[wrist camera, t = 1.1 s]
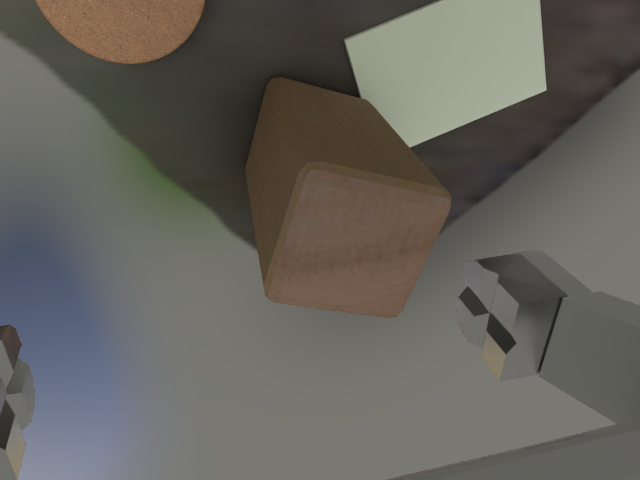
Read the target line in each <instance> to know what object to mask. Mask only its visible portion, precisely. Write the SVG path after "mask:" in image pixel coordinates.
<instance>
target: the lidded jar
mask: <svg viewBox="0 0 640 480" xmlns="http://www.w3.org/2000/svg"><path fill="white" fill-rule="evenodd" d="M35 1H36V3H37V5H38V7H39V8H40V10H41V11H42V13H43V15H44V16H45V18H46V19H47V20H48V21H49V23H50V24H51V25H52V26H53V27H54V29H55V30H56V31H58V32H59V33H60V34H61V35H62V36H63V37H64V38H65V39H66V40H67V41H69V42H70V43H72V44H73V45H74V46H76V47H77V48H79V49H80V50H82V51H84V52H86V53H88V54H90V55H92V56H95V57H97V58H100V59H102V60H106V61H110V62H115V63H123V64H137V63H146V62H150V61H154V60H157V59H159V58H162V57H164V56H166V55H168V54H170V53H171V52H173V51H174V50H176V49H177V48H178V47H180V46H181V45H182V44H183V43H184V42H185V41H186V40H187V39H188V37H189V36H190V35H191V34H192V32H193V31H194V29H195V28H196V26H197V24H198V22H199V20H200V18H201V15H202V12H203V9H204V5H205V0H35Z"/></svg>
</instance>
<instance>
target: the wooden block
mask: <svg viewBox="0 0 640 480" xmlns="http://www.w3.org/2000/svg"><path fill="white" fill-rule="evenodd" d="M245 175H246V181H247V188H248V194H249V200H250V206H251V212H252V218H253V224H254V231H255V237H256V243H257V249H258V255H259V261H260V267H261V273H262V279H263V286H264V291H265V295H266V297H267V298H268V299H269V300H272V301H274V302H276V303H280V304H288V305H295V306H303V307H310V308H318V309H326V310H333V311H342V312H348V313H356V314H364V315H371V316H379V317H387V318H391V317H396V316H398V315H399V314H400V313H401V312H402V311H403V308H404V306H405V304H406V302H407V300H408V298H409V296H410V294H411V292H412V289H413V287H414V285H415V283H416V281H417V279H418V277H419V274H420V273H421V270H422V268H423V266H424V264H425V262H426V260H427V258H428V255H429V253H430V251H431V249H432V247H433V245H434V243H435V241H436V239H437V237H438V234H439V232H440V230H441V228H442V226H443V224H444V222H445V220H446V217H447V215H448V213H449V211H450V206H451V196H450V194H449V192H448V191H447V190H446V189H445V188H444V187H443V186H442V184H441V183H440V182H439V181H438V180H437V179H436V177H435V176H434V175H433V174H432V173H431V172H430V171H429V169H428V168H427V167H426V166H425V165H424V164H423V162H422V161H421V160H420V159H419V158H418V157H417V156H416V154H415V153H414V152H413V151H412V150H411V149H410V147H409V146H408V145H407V144H406V143H405V142H404V141H403V139H402V138H401V137H400V136H399V135H398V134H397V132H396V131H395V130H394V129H393V128H392V127H391V126H390V124H389V123H388V122H387V121H386V120H385V119H384V117H383V116H382V115H381V114H380V113H379V112H378V111H377V109H376V108H375V107H374V106H373V105H372V104H371V103H370V102H369V101H367V100H365V99H361V98H358V97H354V96H350V95H346V94H343V93H339V92H335V91H331V90H328V89H324V88H320V87H317V86H313V85H309V84H305V83H302V82H298V81H294V80H290V79H287V78H283V77H277V78H272V79H271V80H270V81H269V83H268V84H267V85H266V89H265V93H264V97H263V101H262V105H261V108H260V112H259V116H258V120H257V124H256V128H255V132H254V136H253V139H252V143H251V147H250V151H249V155H248V159H247V163H246V167H245Z"/></svg>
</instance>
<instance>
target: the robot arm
mask: <svg viewBox="0 0 640 480" xmlns="http://www.w3.org/2000/svg"><path fill="white" fill-rule="evenodd" d="M462 280H463V281H464V283H465V284H466V286H467V287H466V288H465V290H464V291H463V292H462V293H461V294H460V296H459V297H458V303H457V309H456V312H457V317H458V324H459V326H460V329H461V331H462V333H463V334H464V336H465V337H466V339H467V340H468V341H469V342H470V343H472V344H474V345H476V346H478V347H480V348H482V352H481V358H482V360H483V361H484V362H485V363H486V365H487V366H488V367H489V369H490V370H491V371H492V373H493V374H494V375H495V376H496V378H497V379H498V380H499V381H503V380H509V379H515V378H521V377H526V376H532V375H538V374H539V377H541V378H542V379H544V380H546V381H547V382H549V383H550V384H552V385H554V386H556V387H557V388H559V389H560V390H562V391H564V392H565V393H567V394H569V395H570V396H572V397H574V398H575V399H577V400H579V401H580V402H582V403H583V404H585V405H587V406H588V407H590V408H592V409H593V410H595V411H597V412H598V413H600V414H602V415H603V416H605V417H607V418H608V419H610V420H612V421H613V422H615V423H616V425H612V426H608V427H604V428H599V429H595V430H591V431H587V432H583V433H579V434H575V435H570V436H566V437H562V438H558V439H554V440H549V441H545V442H541V443H537V444H533V445H529V446H524V447H520V448H516V449H512V450H508V451H504V452H499V453H495V454H491V455H487V456H483V457H479V458H474V459H471V460H466V461H462V462H458V463H454V464H449V465H445V466H441V467H437V468H433V469H428V470H425V471H420V472H416V473H412V474H408V475H403V476H400V477H395V478H391V479H387V480H640V305H637V304H634V303H632V302H629V301H626V300H623V299H620V298H617V297H614V296H611V295H608V294H606V293H603V292H594V293H593V292H592V291H591V290H590V289H588V288H587V287H586V286H585V285H583V284H582V283H581V282H580V281H578V280H577V279H576V278H575V277H574V276H572V275H571V274H570V273H568V272H567V271H566V270H565V269H564V268H563V267H561V266H560V265H559V264H558V263H557V262H555V261H554V260H553V259H552V258H550V257H549V256H548V255H547V254H545V253H544V252H543V251H539V250H536V249H535V250H529V251H524V252H518V253H513V254H510V255H503V256H497V257H490V258H483V259H477V260H471V261H468V262H467V264H466V265H465V267H464V270H463V275H462ZM21 345H22V344H21V341H20V339H19V336H18V333H17V331H16V329H15V328H14V327H13V326H11V325H3V326H0V480H17V479H18V475H19V471H20V467H21V462H22V458H23V455H24V450H25V446H26V442H25V440H24V437H23V434H22V430H23V429H24V428H25V427H26V426H27V425H28V424H29V423H30V422H31V421H32V416H33V411H34V406H35V403H34V402H35V388H34V382H33V377H32V373H31V370H30V367H29V365H28V364H26V363H25V362H23V361H21V360H20V359H19V358H18V355H19V352H20V348H21Z"/></svg>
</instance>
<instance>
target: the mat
mask: <svg viewBox="0 0 640 480" xmlns="http://www.w3.org/2000/svg"><path fill="white" fill-rule="evenodd" d="M343 41H344V44H345V48H346V51H347V55H348V58H349V62H350V65H351V68H352V72H353V75H354V79H355V82H356V86H357V89H358V93H359V96H360V98H361V99H365V100H367V101H369V102H370V103H371V104H372V105H373V106H374V107H375V108H376V109H377V111H378V112H379V113H380V114H381V115H382V116H383V117H384V119H385V120H386V121H387V122H388V123H389V124H390V126H391V127H392V128H393V129H394V130H395V131H396V132H397V134H398V135H399V136H400V137H401V138H402V139H403V141H404V142H405V143H406V144H407V145H408V146H409V147H412V146H414V145H417V144H419V143H422V142H424V141H426V140H429V139H431V138H434V137H436V136H438V135H441V134H443V133H446V132H448V131H450V130H453V129H455V128H457V127H460V126H462V125H465V124H467V123H469V122H472V121H474V120H477V119H479V118H481V117H484V116H486V115H489V114H491V113H493V112H496V111H498V110H500V109H503V108H505V107H508V106H510V105H512V104H515V103H517V102H520V101H522V100H524V99H527V98H529V97H532V96H534V95H536V94H539V93H541V92H543V91H546V77H545V63H544V49H543V36H542V22H541V9H540V0H437V1H435V2H432V3H430V4H428V5H425V6H423V7H420V8H418V9H415V10H413V11H411V12H408V13H406V14H403V15H401V16H398V17H396V18H394V19H391V20H389V21H386V22H384V23H381V24H379V25H377V26H374V27H372V28H369V29H367V30H364V31H362V32H359V33H357V34H355V35H352V36H350V37H347V38H345V39H343Z"/></svg>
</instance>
